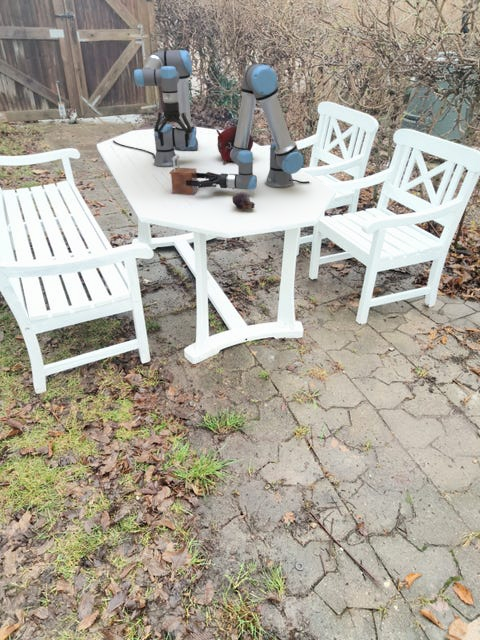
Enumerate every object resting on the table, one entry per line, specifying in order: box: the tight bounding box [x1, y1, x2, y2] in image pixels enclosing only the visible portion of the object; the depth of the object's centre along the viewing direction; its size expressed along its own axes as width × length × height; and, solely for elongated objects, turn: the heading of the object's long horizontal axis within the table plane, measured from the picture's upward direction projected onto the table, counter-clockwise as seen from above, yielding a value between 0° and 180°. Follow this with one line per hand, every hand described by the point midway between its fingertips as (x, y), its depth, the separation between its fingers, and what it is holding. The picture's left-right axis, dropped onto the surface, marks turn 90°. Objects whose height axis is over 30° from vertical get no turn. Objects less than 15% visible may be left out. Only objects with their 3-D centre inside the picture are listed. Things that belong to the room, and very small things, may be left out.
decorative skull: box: [216, 126, 254, 165], centre depth 296 cm, size 21×24×25 cm
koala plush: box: [174, 137, 199, 151], centre depth 321 cm, size 17×18×20 cm
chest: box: [170, 170, 199, 196], centre depth 246 cm, size 12×9×10 cm
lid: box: [169, 153, 197, 175], centre depth 241 cm, size 12×9×8 cm
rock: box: [232, 192, 256, 211], centre depth 223 cm, size 12×9×10 cm
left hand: (174, 146), depth 236 cm, fingers open, 13 cm apart
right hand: (189, 178), depth 244 cm, fingers open, 13 cm apart
